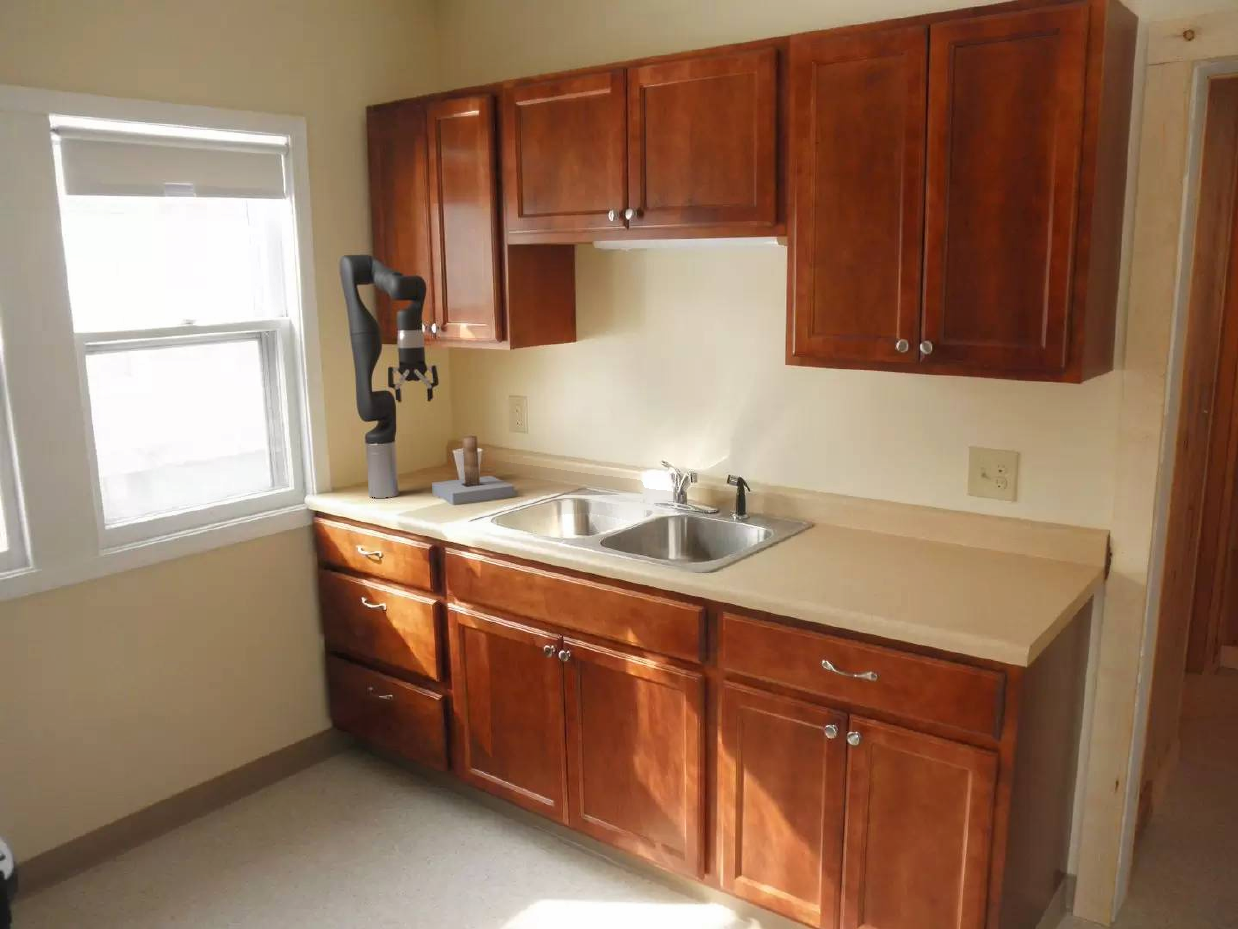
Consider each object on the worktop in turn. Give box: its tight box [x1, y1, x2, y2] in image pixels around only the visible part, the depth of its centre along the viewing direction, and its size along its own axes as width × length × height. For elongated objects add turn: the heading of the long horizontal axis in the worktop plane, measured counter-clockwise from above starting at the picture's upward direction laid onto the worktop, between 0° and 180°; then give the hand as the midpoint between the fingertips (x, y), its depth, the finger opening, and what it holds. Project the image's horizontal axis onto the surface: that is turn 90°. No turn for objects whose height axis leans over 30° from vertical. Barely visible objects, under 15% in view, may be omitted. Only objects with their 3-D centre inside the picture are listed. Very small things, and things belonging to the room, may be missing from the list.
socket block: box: [431, 475, 516, 506], centre depth 323 cm, size 20×20×4 cm
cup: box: [452, 447, 484, 480], centre depth 342 cm, size 10×10×11 cm
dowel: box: [461, 435, 480, 487], centre depth 321 cm, size 4×4×18 cm
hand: (414, 401), depth 300 cm, fingers open, 8 cm apart
